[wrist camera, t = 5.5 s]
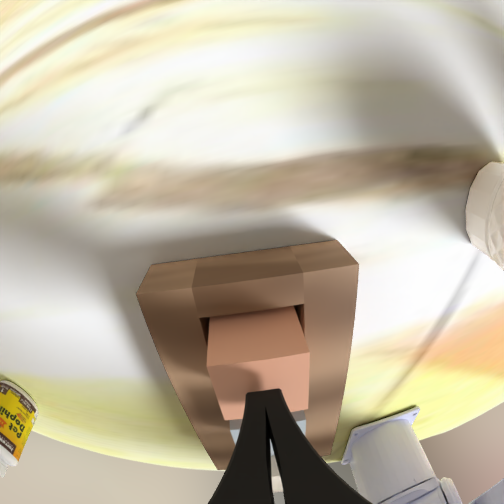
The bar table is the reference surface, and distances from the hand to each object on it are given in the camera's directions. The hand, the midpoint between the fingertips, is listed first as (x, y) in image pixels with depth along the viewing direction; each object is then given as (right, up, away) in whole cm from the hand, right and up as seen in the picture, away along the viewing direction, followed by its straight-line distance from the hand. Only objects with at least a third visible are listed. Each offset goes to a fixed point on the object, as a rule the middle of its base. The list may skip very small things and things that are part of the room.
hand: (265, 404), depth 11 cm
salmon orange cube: (0, +2, +4) cm, 5 cm away
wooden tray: (0, -2, +8) cm, 8 cm away
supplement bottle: (-25, -9, +9) cm, 28 cm away
